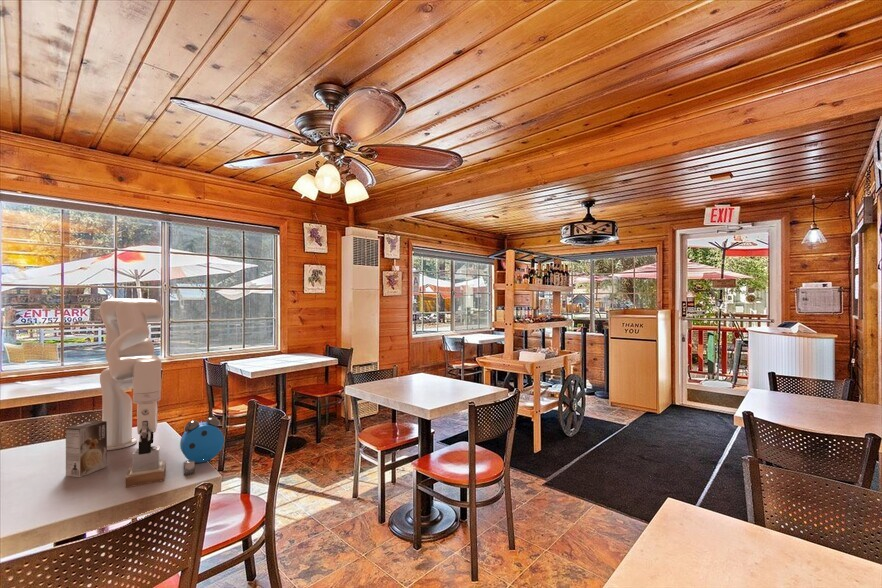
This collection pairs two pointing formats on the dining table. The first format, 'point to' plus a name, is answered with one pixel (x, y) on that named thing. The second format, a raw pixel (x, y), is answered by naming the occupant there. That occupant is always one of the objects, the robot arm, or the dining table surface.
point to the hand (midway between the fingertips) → (146, 448)
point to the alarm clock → (202, 440)
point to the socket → (189, 467)
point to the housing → (146, 460)
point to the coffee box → (86, 448)
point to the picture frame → (145, 475)
